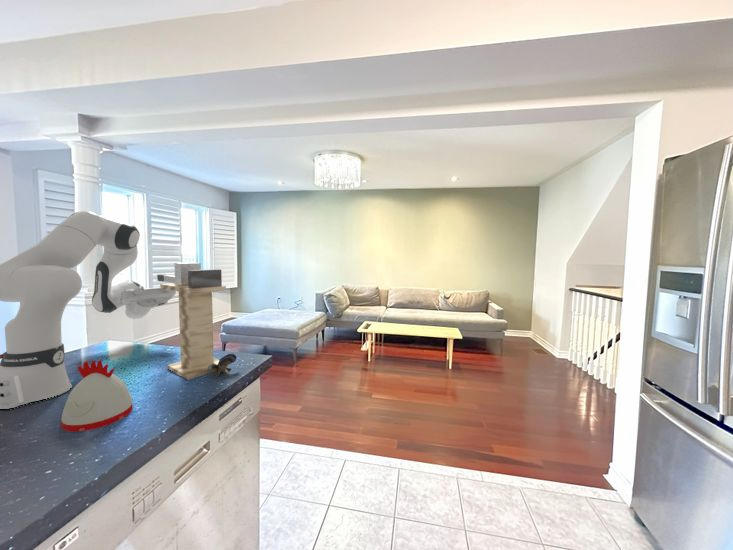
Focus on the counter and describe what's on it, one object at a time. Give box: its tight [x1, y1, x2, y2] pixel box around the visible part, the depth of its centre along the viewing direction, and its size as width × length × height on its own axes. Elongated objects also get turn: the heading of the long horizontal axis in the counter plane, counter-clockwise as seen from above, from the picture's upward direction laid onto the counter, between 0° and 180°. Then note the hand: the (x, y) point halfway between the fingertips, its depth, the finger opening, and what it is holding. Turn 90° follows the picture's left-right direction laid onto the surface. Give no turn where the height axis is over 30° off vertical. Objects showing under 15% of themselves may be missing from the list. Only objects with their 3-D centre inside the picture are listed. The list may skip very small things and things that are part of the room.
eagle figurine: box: [208, 353, 237, 379], centre depth 107 cm, size 8×7×9 cm
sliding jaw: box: [156, 262, 202, 286], centre depth 118 cm, size 26×7×8 cm, turn 55°
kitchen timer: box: [60, 359, 134, 433], centre depth 78 cm, size 14×14×15 cm
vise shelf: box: [159, 268, 228, 381], centre depth 111 cm, size 24×14×37 cm, turn 55°
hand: (154, 287), depth 131 cm, fingers open, 8 cm apart
